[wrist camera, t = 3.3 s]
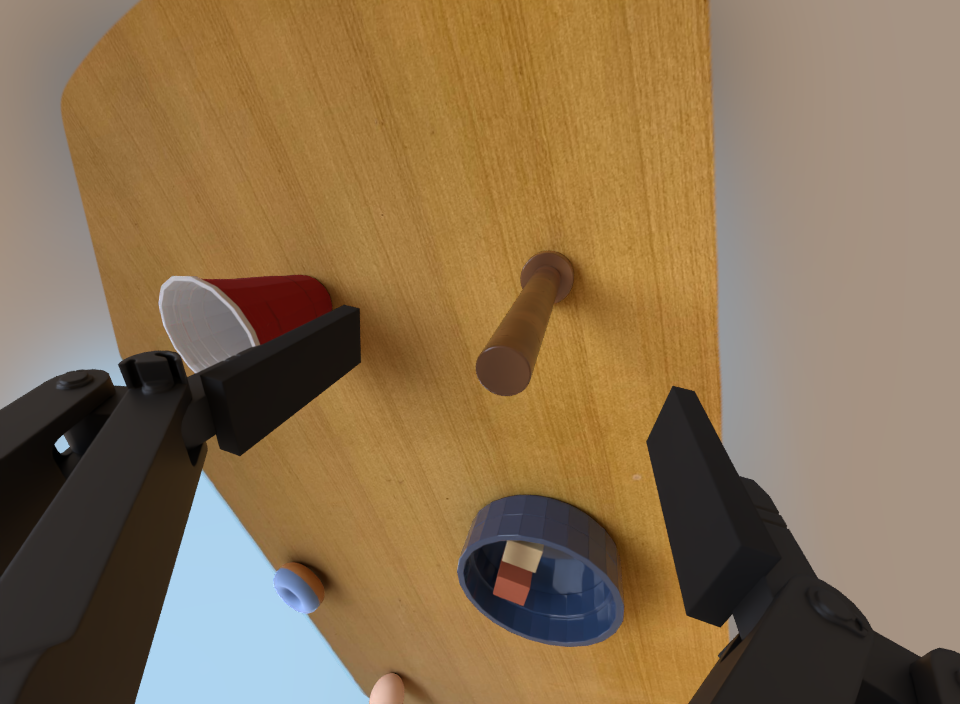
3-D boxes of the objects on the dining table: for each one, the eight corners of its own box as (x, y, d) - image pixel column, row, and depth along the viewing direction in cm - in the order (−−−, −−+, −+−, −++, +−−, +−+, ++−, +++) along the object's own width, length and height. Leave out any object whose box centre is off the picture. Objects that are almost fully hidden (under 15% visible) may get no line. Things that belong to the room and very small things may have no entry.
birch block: (546, 521, 42) (543, 552, 38) (539, 542, 43) (535, 573, 40) (514, 510, 42) (507, 539, 39) (508, 531, 44) (501, 561, 41)
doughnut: (281, 573, 68) (262, 597, 64) (289, 548, 63) (269, 573, 59) (324, 600, 68) (308, 626, 64) (336, 577, 63) (319, 604, 59)
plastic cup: (251, 263, 39) (125, 291, 28) (326, 239, 35) (212, 261, 24) (294, 351, 42) (197, 404, 32) (366, 338, 38) (283, 394, 28)
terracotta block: (534, 557, 45) (530, 588, 41) (528, 575, 47) (523, 606, 43) (504, 546, 46) (497, 576, 42) (499, 564, 47) (492, 594, 44)
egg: (416, 686, 72) (397, 738, 65) (392, 683, 75) (372, 733, 68) (400, 666, 71) (379, 718, 64) (376, 664, 73) (354, 713, 66)
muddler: (580, 256, 29) (567, 337, 13) (566, 306, 31) (542, 427, 15) (528, 246, 30) (458, 311, 14) (518, 295, 32) (448, 400, 16)
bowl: (642, 524, 39) (650, 577, 33) (594, 613, 47) (594, 666, 42) (482, 472, 42) (467, 512, 37) (464, 564, 51) (450, 607, 45)
